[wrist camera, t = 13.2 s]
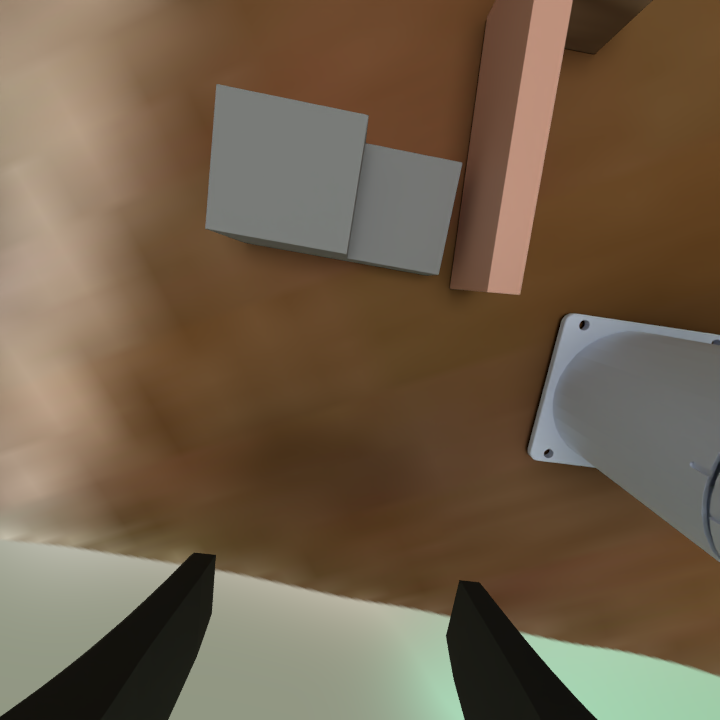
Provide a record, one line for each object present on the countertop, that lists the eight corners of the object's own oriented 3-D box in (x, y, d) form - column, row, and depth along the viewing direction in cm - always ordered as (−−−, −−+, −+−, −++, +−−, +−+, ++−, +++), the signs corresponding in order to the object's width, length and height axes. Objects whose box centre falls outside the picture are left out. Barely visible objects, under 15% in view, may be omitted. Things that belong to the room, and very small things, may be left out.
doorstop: (446, 179, 17) (484, 139, 12) (426, 275, 18) (454, 273, 13) (256, 141, 17) (216, 83, 12) (245, 243, 17) (205, 228, 13)
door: (487, 17, 15) (550, -107, 10) (514, 20, 15) (590, -101, 11) (449, 288, 18) (486, 292, 13) (473, 290, 18) (519, 294, 13)
